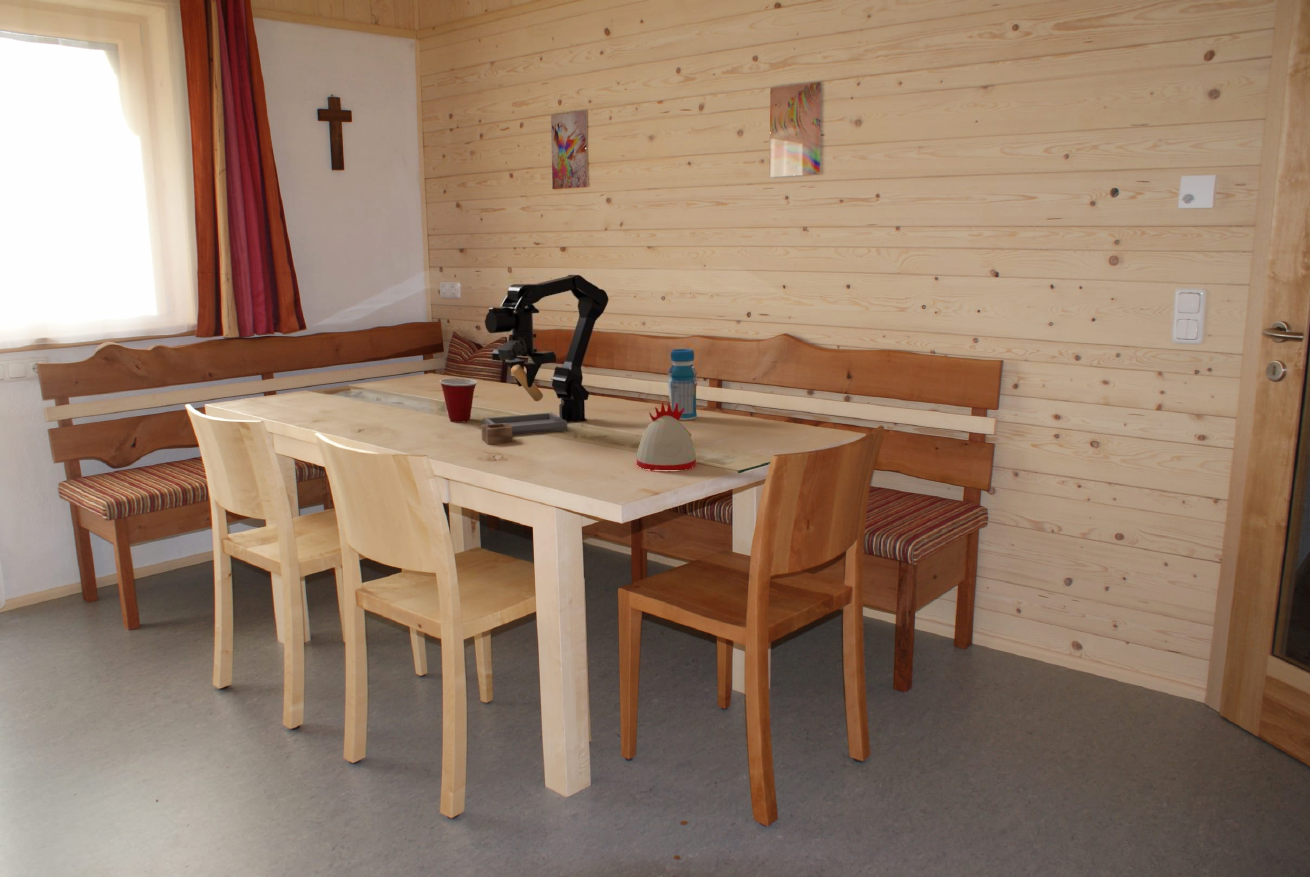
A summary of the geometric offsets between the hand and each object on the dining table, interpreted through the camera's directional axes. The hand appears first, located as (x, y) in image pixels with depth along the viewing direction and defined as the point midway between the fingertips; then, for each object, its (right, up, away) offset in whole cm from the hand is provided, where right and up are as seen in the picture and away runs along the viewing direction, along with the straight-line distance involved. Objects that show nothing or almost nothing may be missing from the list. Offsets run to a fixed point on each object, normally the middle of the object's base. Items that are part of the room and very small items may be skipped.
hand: (524, 386), depth 270 cm
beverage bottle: (+44, -9, +14) cm, 47 cm away
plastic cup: (-21, -9, +15) cm, 27 cm away
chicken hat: (+39, -21, -42) cm, 61 cm away
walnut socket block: (-5, -15, -14) cm, 21 cm away
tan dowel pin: (+3, -3, +5) cm, 7 cm away
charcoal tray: (0, -12, +2) cm, 12 cm away
